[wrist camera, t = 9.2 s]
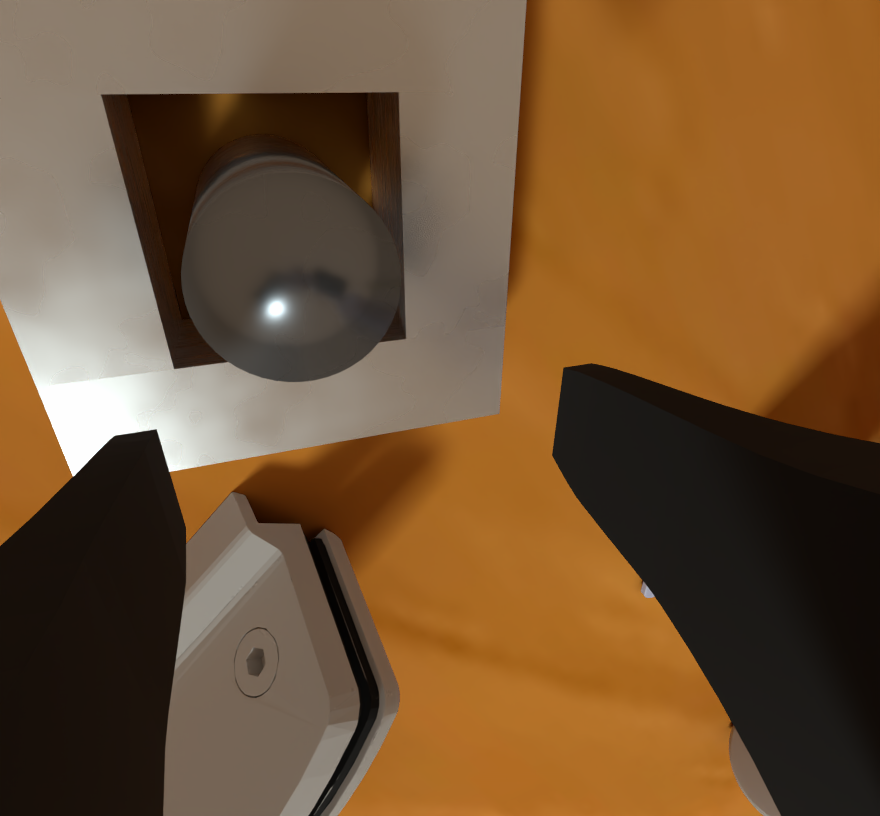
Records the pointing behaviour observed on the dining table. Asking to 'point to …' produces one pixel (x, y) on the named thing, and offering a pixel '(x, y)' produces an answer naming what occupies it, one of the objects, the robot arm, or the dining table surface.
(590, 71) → the dining table surface
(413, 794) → the dining table surface
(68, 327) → the socket block
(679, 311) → the dining table surface
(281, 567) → the grey mounting bracket
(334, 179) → the peg
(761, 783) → the headphones
